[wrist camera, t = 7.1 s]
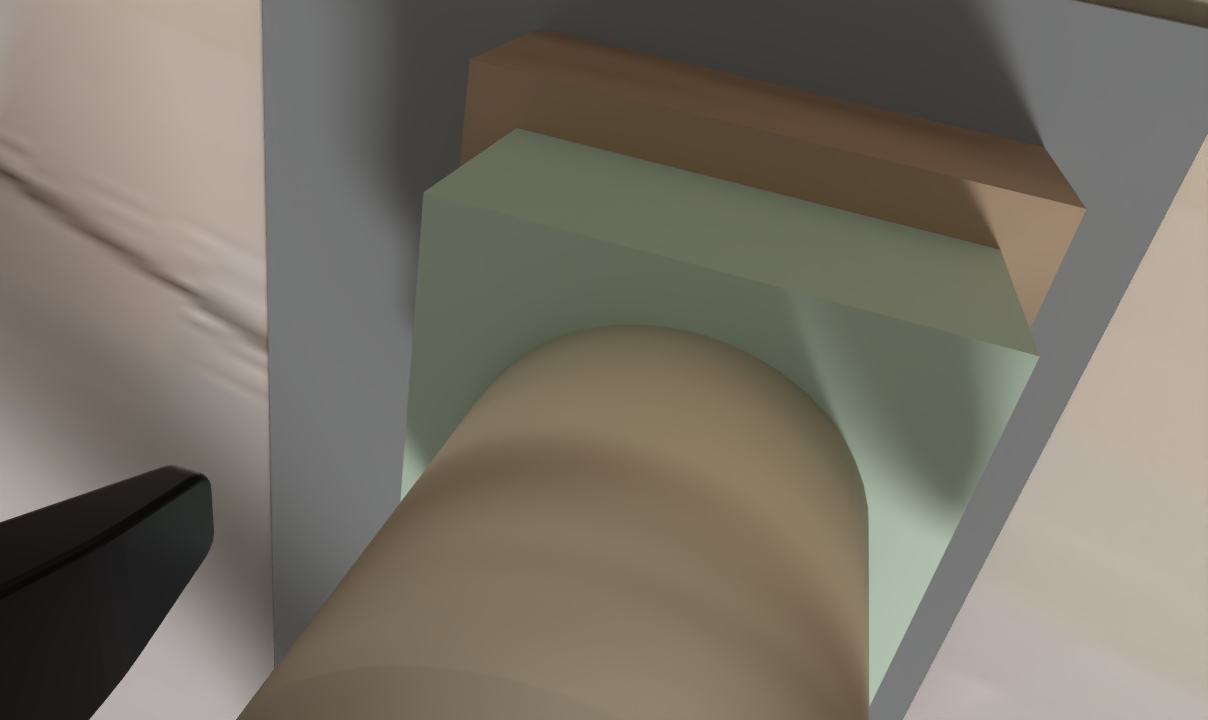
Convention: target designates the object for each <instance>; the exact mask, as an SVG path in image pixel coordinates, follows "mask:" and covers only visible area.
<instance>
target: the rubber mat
mask: <svg viewBox="0 0 1208 720" xmlns="http://www.w3.org/2000/svg"><path fill="white" fill-rule="evenodd" d="M262 17H263V72H264V126H265V180H266V235H267V289H268V344H269V398H270V453H271V507H272V561H273V616H274V669H275V668H276V666H277V665H278V664H279V662H280V661H281V660H282V658H283V657H284V656H285V654H286V653H287V652H288V650H289V649H290V648H291V646H292V645H293V644H294V642H295V641H296V640H297V639H298V637H299V636H300V635H301V633H302V632H303V631H304V629H305V628H306V627H307V625H308V624H309V623H310V621H311V620H312V619H313V617H314V616H315V615H316V613H317V612H318V611H319V609H320V608H321V607H322V605H323V604H324V603H325V601H326V600H327V599H328V597H329V596H330V595H331V594H332V592H333V591H334V590H335V588H336V587H337V586H338V584H339V583H340V582H341V580H342V579H343V578H344V576H345V575H346V574H347V572H348V571H349V570H350V568H351V567H352V566H353V564H354V563H355V562H356V560H357V559H358V558H359V556H360V555H361V554H362V553H363V551H364V550H365V549H366V547H367V546H368V545H369V543H370V542H371V541H372V539H373V538H374V537H375V535H376V534H377V533H378V531H379V530H380V529H381V527H382V526H383V525H384V523H385V522H386V521H387V519H388V518H389V517H390V515H391V514H392V513H393V512H394V510H395V509H396V508H397V506H398V505H399V504H400V500H401V486H402V473H403V460H404V446H405V433H406V420H407V406H408V393H409V380H410V366H411V353H412V340H413V326H414V313H415V300H416V286H417V273H418V260H419V246H420V233H421V220H422V207H423V193H424V192H425V191H426V190H428V189H429V188H431V187H432V186H434V185H435V184H436V183H438V182H439V181H441V180H442V179H444V178H445V177H447V176H448V175H449V174H451V173H452V172H454V171H455V170H457V169H458V168H460V159H461V148H462V138H463V127H464V117H465V106H466V95H467V85H468V74H469V64H470V59H472V58H474V57H476V56H479V55H481V54H483V53H486V52H488V51H490V50H492V49H495V48H497V47H499V46H502V45H504V44H506V43H508V42H511V41H513V40H515V39H518V38H520V37H522V36H524V35H527V34H529V33H531V32H534V31H536V30H538V29H544V30H548V31H553V32H557V33H561V34H565V35H570V36H574V37H578V38H582V39H587V40H591V41H595V42H599V43H604V44H608V45H612V46H616V47H621V48H625V49H629V50H633V51H638V52H642V53H646V54H650V55H655V56H659V57H663V58H667V59H672V60H676V61H680V62H684V63H689V64H693V65H697V66H702V67H706V68H710V69H714V70H719V71H723V72H727V73H731V74H736V75H740V76H744V77H748V78H753V79H757V80H761V81H765V82H770V83H774V84H778V85H782V86H787V87H791V88H795V89H799V90H804V91H808V92H812V93H816V94H821V95H825V96H829V97H833V98H838V99H842V100H846V101H851V102H855V103H859V104H863V105H868V106H872V107H876V108H880V109H885V110H889V111H893V112H897V113H902V114H906V115H910V116H914V117H919V118H923V119H927V120H931V121H936V122H940V123H944V124H948V125H953V126H957V127H961V128H965V129H970V130H974V131H978V132H982V133H987V134H991V135H995V136H1000V137H1004V138H1008V139H1012V140H1017V141H1021V142H1025V143H1029V144H1034V145H1038V146H1042V147H1045V149H1046V150H1047V151H1048V153H1049V154H1050V156H1051V157H1052V159H1053V160H1054V162H1055V163H1056V165H1057V166H1058V168H1059V169H1060V171H1061V172H1062V173H1063V175H1064V176H1065V178H1066V179H1067V181H1068V182H1069V184H1070V185H1071V187H1072V188H1073V190H1074V191H1075V193H1076V194H1077V195H1078V197H1079V198H1080V200H1081V201H1082V203H1083V204H1084V206H1085V207H1086V211H1085V214H1084V216H1083V218H1082V220H1081V222H1080V224H1079V226H1078V228H1077V230H1076V233H1075V235H1074V237H1073V239H1072V241H1071V243H1070V245H1069V247H1068V250H1067V252H1066V254H1065V256H1064V258H1063V260H1062V262H1061V264H1060V267H1059V269H1058V271H1057V273H1056V275H1055V277H1054V279H1053V281H1052V284H1051V286H1050V288H1049V290H1048V292H1047V294H1046V296H1045V298H1044V300H1043V303H1042V305H1041V307H1040V309H1039V311H1038V313H1037V315H1036V317H1035V320H1034V322H1033V324H1032V326H1031V328H1030V331H1031V334H1032V337H1033V339H1034V342H1035V345H1036V347H1037V350H1038V353H1039V356H1040V357H1039V359H1038V361H1037V363H1036V365H1035V367H1034V369H1033V372H1032V374H1031V376H1030V378H1029V380H1028V382H1027V384H1026V386H1025V388H1024V390H1023V392H1022V394H1021V396H1020V398H1019V400H1018V402H1017V404H1016V406H1015V409H1014V411H1013V413H1012V415H1011V417H1010V419H1009V421H1008V423H1007V425H1006V427H1005V429H1004V431H1003V433H1002V435H1001V437H1000V439H999V441H998V443H997V446H996V448H995V450H994V452H993V454H992V456H991V458H990V460H989V462H988V464H987V466H986V468H985V470H984V472H983V474H982V476H981V478H980V480H979V483H978V485H977V487H976V489H975V491H974V493H973V495H972V497H971V499H970V501H969V503H968V505H967V507H966V509H965V511H964V513H963V515H962V517H961V520H960V522H959V524H958V526H957V528H956V530H955V532H954V534H953V536H952V538H951V540H950V542H949V544H948V546H947V548H946V550H945V552H944V554H943V557H942V559H941V561H940V563H939V565H938V567H937V569H936V571H935V573H934V575H933V577H932V579H931V581H930V583H929V585H928V587H927V589H926V591H925V594H924V596H923V598H922V600H921V602H920V604H919V606H918V608H917V610H916V612H915V614H914V616H913V618H912V620H911V622H910V624H909V626H908V628H907V631H906V633H905V635H904V637H903V639H902V641H901V643H900V645H899V647H898V649H897V651H896V653H895V655H894V657H893V659H892V661H891V663H890V665H889V668H888V670H887V672H886V674H885V676H884V678H883V680H882V682H881V684H880V686H879V688H878V690H877V692H876V694H875V696H874V698H873V700H872V702H871V705H870V707H869V720H903V718H904V716H905V714H906V712H907V710H908V709H909V707H910V705H911V703H912V701H913V699H914V697H915V695H916V693H917V691H918V689H919V687H920V685H921V684H922V682H923V680H924V678H925V676H926V674H927V672H928V670H929V668H930V666H931V664H932V662H933V660H934V659H935V657H936V655H937V653H938V651H939V649H940V647H941V645H942V643H943V641H944V639H945V637H946V636H947V634H948V632H949V630H950V628H951V626H952V624H953V622H954V620H955V618H956V616H957V614H958V612H959V611H960V609H961V607H962V605H963V603H964V601H965V599H966V597H967V595H968V593H969V591H970V589H971V587H972V586H973V584H974V582H975V580H976V578H977V576H978V574H979V572H980V570H981V568H982V566H983V564H984V562H985V561H986V559H987V557H988V555H989V553H990V551H991V549H992V547H993V545H994V543H995V541H996V539H997V537H998V536H999V534H1000V532H1001V530H1002V528H1003V526H1004V524H1005V522H1006V520H1007V518H1008V516H1009V514H1010V512H1011V511H1012V509H1013V507H1014V505H1015V503H1016V501H1017V499H1018V497H1019V495H1020V493H1021V491H1022V489H1023V488H1024V486H1025V484H1026V482H1027V480H1028V478H1029V476H1030V474H1031V472H1032V470H1033V468H1034V466H1035V464H1036V463H1037V461H1038V459H1039V457H1040V455H1041V453H1042V451H1043V449H1044V447H1045V445H1046V443H1047V441H1048V439H1049V438H1050V436H1051V434H1052V432H1053V430H1054V428H1055V426H1056V424H1057V422H1058V420H1059V418H1060V416H1061V414H1062V413H1063V411H1064V409H1065V407H1066V405H1067V403H1068V401H1069V399H1070V397H1071V395H1072V393H1073V391H1074V389H1075V388H1076V386H1077V384H1078V382H1079V380H1080V378H1081V376H1082V374H1083V372H1084V370H1085V368H1086V366H1087V364H1088V363H1089V361H1090V359H1091V357H1092V355H1093V353H1094V351H1095V349H1096V347H1097V345H1098V343H1099V341H1100V339H1101V338H1102V336H1103V334H1104V332H1105V330H1106V328H1107V326H1108V324H1109V322H1110V320H1111V318H1112V316H1113V315H1114V313H1115V311H1116V309H1117V307H1118V305H1119V303H1120V301H1121V299H1122V297H1123V295H1124V293H1125V291H1126V290H1127V288H1128V286H1129V284H1130V282H1131V280H1132V278H1133V276H1134V274H1135V272H1136V270H1137V268H1138V266H1139V265H1140V263H1141V261H1142V259H1143V257H1144V255H1145V253H1146V251H1147V249H1148V247H1149V245H1150V243H1151V241H1152V240H1153V238H1154V236H1155V234H1156V232H1157V230H1158V228H1159V226H1160V224H1161V222H1162V220H1163V218H1164V216H1165V215H1166V213H1167V211H1168V209H1169V207H1170V205H1171V203H1172V201H1173V199H1174V197H1175V195H1176V193H1177V191H1178V190H1179V188H1180V186H1181V184H1182V182H1183V180H1184V178H1185V176H1186V174H1187V172H1188V170H1189V168H1190V167H1191V165H1192V163H1193V161H1194V159H1195V157H1196V155H1197V153H1198V151H1199V149H1200V147H1201V145H1202V143H1203V142H1204V140H1205V138H1206V136H1207V134H1208V27H1204V26H1200V25H1195V24H1190V23H1186V22H1181V21H1176V20H1171V19H1167V18H1162V17H1157V16H1153V15H1148V14H1143V13H1138V12H1134V11H1129V10H1124V9H1120V8H1115V7H1110V6H1105V5H1101V4H1096V3H1091V2H1086V1H1082V0H262Z"/></svg>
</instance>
